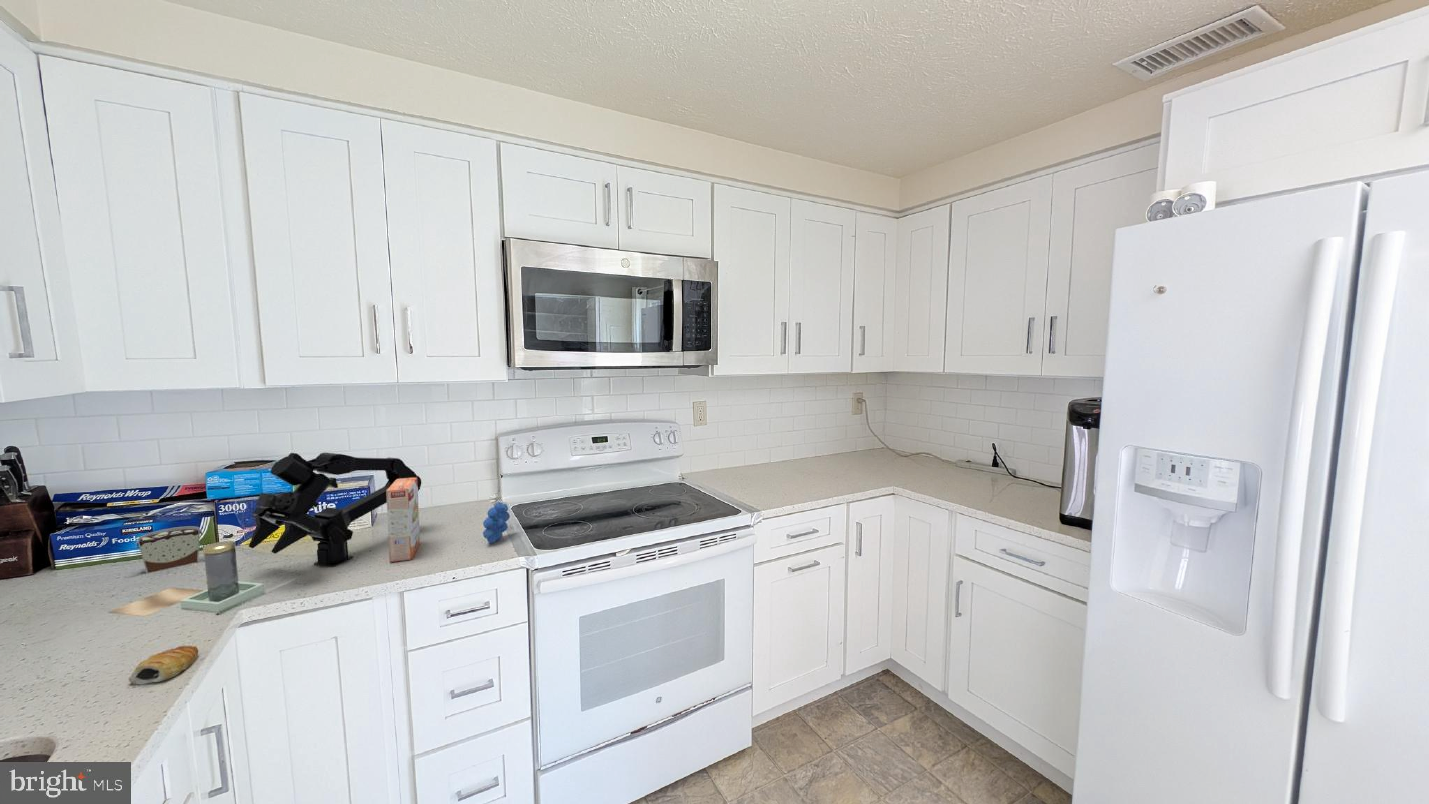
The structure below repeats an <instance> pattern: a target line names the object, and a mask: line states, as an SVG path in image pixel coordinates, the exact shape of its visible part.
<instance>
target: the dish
mask: <svg viewBox="0 0 1429 804" xmlns="http://www.w3.org/2000/svg"><path fill="white" fill-rule="evenodd" d="M238 582H239V593H238V594H236V595H234V596H232V597H229V598H227V599H225V600H223V601H220V602H212V601H209V598H208V588H206V589H205V591H202V592H200V593H198V594H195V595H193V596H190V597H188V598H185V599H183V600H181V602H180V609H182V610H190V611H191V610H192V611H200V612H210V613H215V614H214V615H217V616H218V615H219V616H220V615H221V614H224V613H226V612H228V611H230V610H233V609H234V607H235V608H237V607H239V606H242V605H243V604H245V602H246V603H247V601H248V602H250V601H252V600H254V599H256V598H258V597H261V596H263V595H265V584H264V583H259V582H258V583H257V582H250V581H249V582H247V581H238ZM253 598H254V599H253ZM251 599H252V600H251ZM242 603H243V604H242ZM238 605H239V606H238ZM236 606H237V607H236ZM232 608H233V609H232Z"/></svg>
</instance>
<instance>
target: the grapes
mask: <svg viewBox="0 0 1429 804" xmlns="http://www.w3.org/2000/svg"><path fill="white" fill-rule="evenodd" d="M508 511H509V507H508V505H507V504H506V503H502V502H500V501H497V502H496V503H495V504H494V505H493V507H491V508H489V509H488V510H487V511H486V514H487V516H488V517H486V518H485V519H484V521H483V523H482V524H483V528H485V529H484V531H483V532H482V535H483V537H484V539H486V541H487V542H488V544H493V543H495V542H497V541H500V540H501V539H502V538H503V533H504V532H506V531H507V530H508V527H509V526H508V523H507V521H509V519H510V516H511V515H510V512H508Z"/></svg>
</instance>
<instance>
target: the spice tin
mask: <svg viewBox="0 0 1429 804" xmlns="http://www.w3.org/2000/svg"><path fill="white" fill-rule="evenodd" d="M236 544H237V543H236V541H233V540H227V541H218V542H215V543H210V544H207V545H205V546H204V547H203V548H202V553H203V556H204V557H203V558H204V567H205V577H206V586H207V587H206V589H208V598H209V601H212V602H220V601H223V600H225V599H227V598H229V597H232V596H234V595H236V594H238V593H239V582H240V581H239V574H238V563H237V553H236V552H237V551H236V547H237V545H236Z"/></svg>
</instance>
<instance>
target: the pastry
mask: <svg viewBox="0 0 1429 804" xmlns="http://www.w3.org/2000/svg"><path fill="white" fill-rule="evenodd" d="M198 655H199V649H198V647H197V646H193V645H179V646H177V647H175V648H170V649H166V650H165V651H162V652H158V653H156V654H153V655H150V656H149V657H148V658H147V659H145V660H143V661H140V662H139V664H138V665H137V666H135V669H134V670H133V671H132V673H131V674H130V676H129V677H128V682H129V683H131V684H133V685H136V684H141V685H147V684H151V683H162V682H164V681H166V680H170V679H172V678H174V677H176V676H178V675H180V673H181V672H183V671H186V670H187V669H188V668H189V666H191V664H193V663H194V662H195V660H196V659H197V658H198Z"/></svg>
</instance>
